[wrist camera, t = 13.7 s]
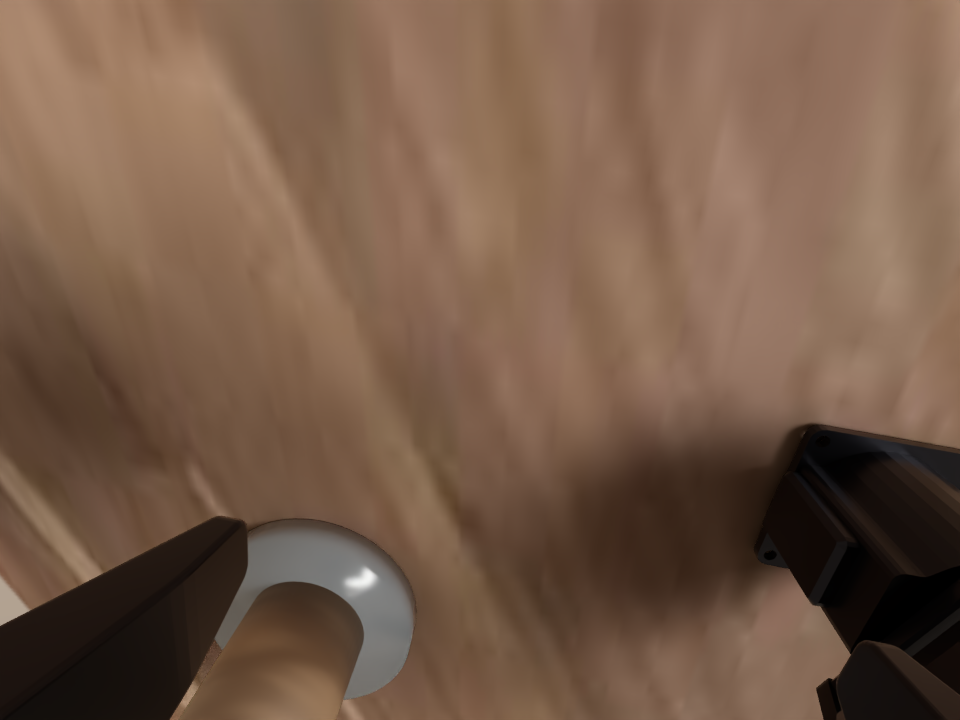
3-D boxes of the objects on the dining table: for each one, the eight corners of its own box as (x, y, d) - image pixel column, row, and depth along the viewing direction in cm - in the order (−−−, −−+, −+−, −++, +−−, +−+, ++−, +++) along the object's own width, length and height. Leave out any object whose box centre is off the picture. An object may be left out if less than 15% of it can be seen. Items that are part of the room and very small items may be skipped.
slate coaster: (427, 541, 24) (420, 565, 22) (406, 689, 28) (399, 717, 26) (217, 501, 24) (197, 522, 23) (224, 652, 28) (208, 678, 27)
